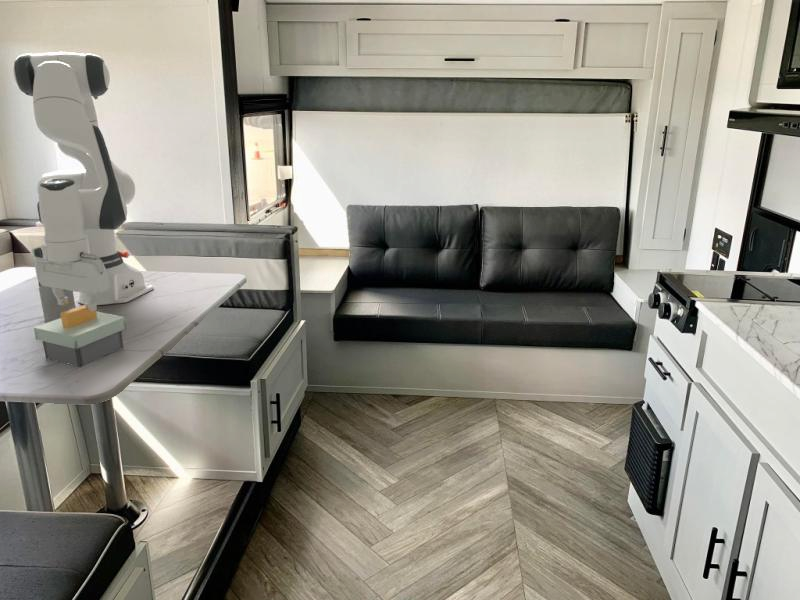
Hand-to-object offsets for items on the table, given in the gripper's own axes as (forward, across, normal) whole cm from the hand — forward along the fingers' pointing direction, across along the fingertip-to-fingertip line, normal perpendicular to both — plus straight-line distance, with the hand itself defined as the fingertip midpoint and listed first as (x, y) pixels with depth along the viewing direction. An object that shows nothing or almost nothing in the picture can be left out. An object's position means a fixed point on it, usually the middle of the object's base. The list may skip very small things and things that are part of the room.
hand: (77, 307), depth 149 cm
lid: (+7, 0, 0) cm, 7 cm away
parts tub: (+12, 0, 0) cm, 12 cm away
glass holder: (+12, +24, -14) cm, 31 cm away
